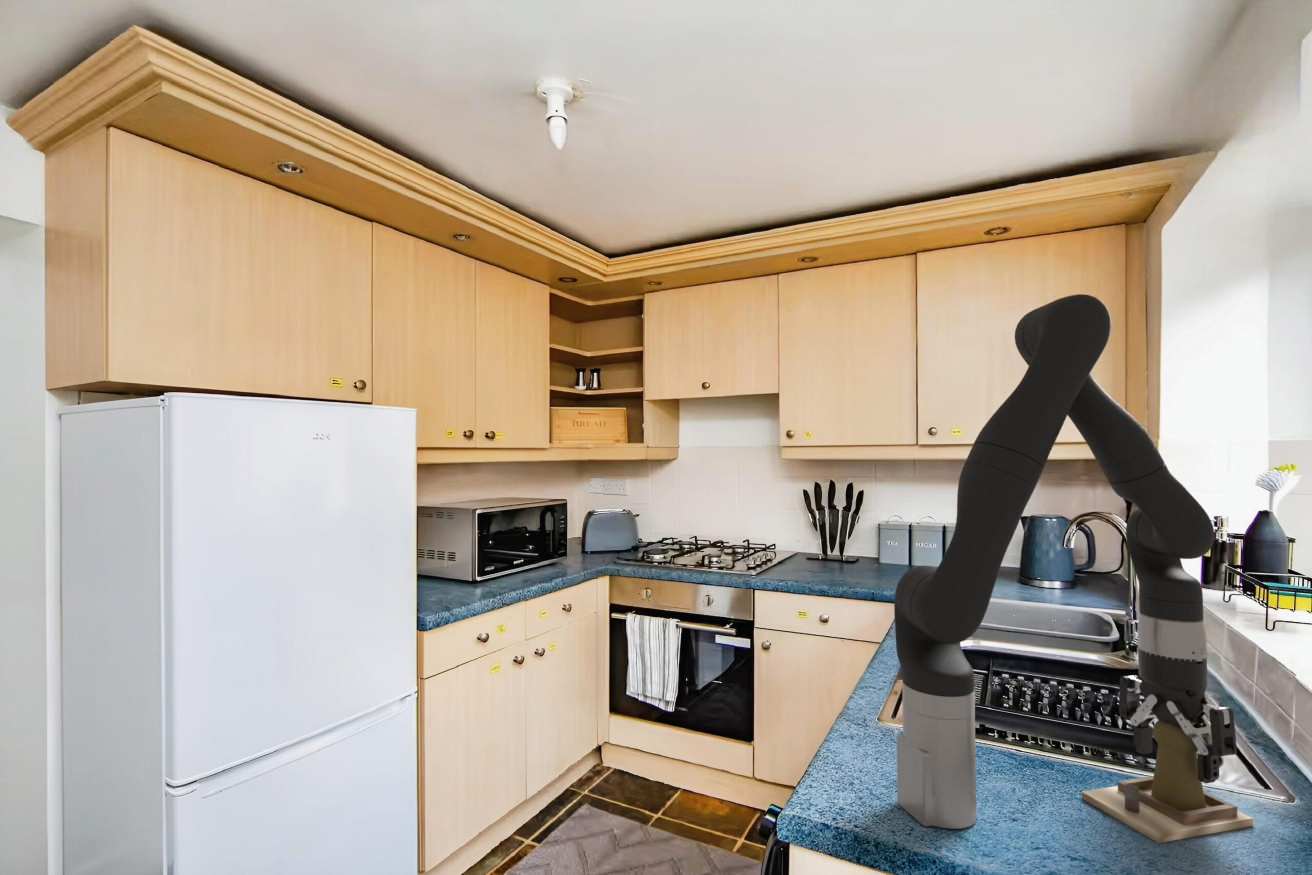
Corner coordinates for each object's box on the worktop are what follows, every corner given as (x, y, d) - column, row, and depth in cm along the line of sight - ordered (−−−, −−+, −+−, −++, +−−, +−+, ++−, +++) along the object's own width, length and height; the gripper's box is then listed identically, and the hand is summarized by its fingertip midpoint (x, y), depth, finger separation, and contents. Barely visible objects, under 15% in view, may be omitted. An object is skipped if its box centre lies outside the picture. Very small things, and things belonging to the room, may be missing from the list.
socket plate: (1158, 842, 82) (1157, 810, 82) (1081, 798, 92) (1081, 769, 92) (1253, 825, 85) (1252, 794, 86) (1169, 784, 96) (1168, 757, 96)
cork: (1180, 791, 92) (1178, 713, 92) (1219, 815, 86) (1216, 731, 86) (1139, 792, 92) (1137, 714, 92) (1175, 816, 86) (1173, 732, 86)
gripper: (1103, 636, 96) (1105, 747, 96) (1205, 666, 82) (1208, 796, 82) (1143, 633, 98) (1145, 741, 97) (1249, 662, 84) (1253, 788, 83)
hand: (1174, 766), depth 90 cm, fingers open, 8 cm apart
